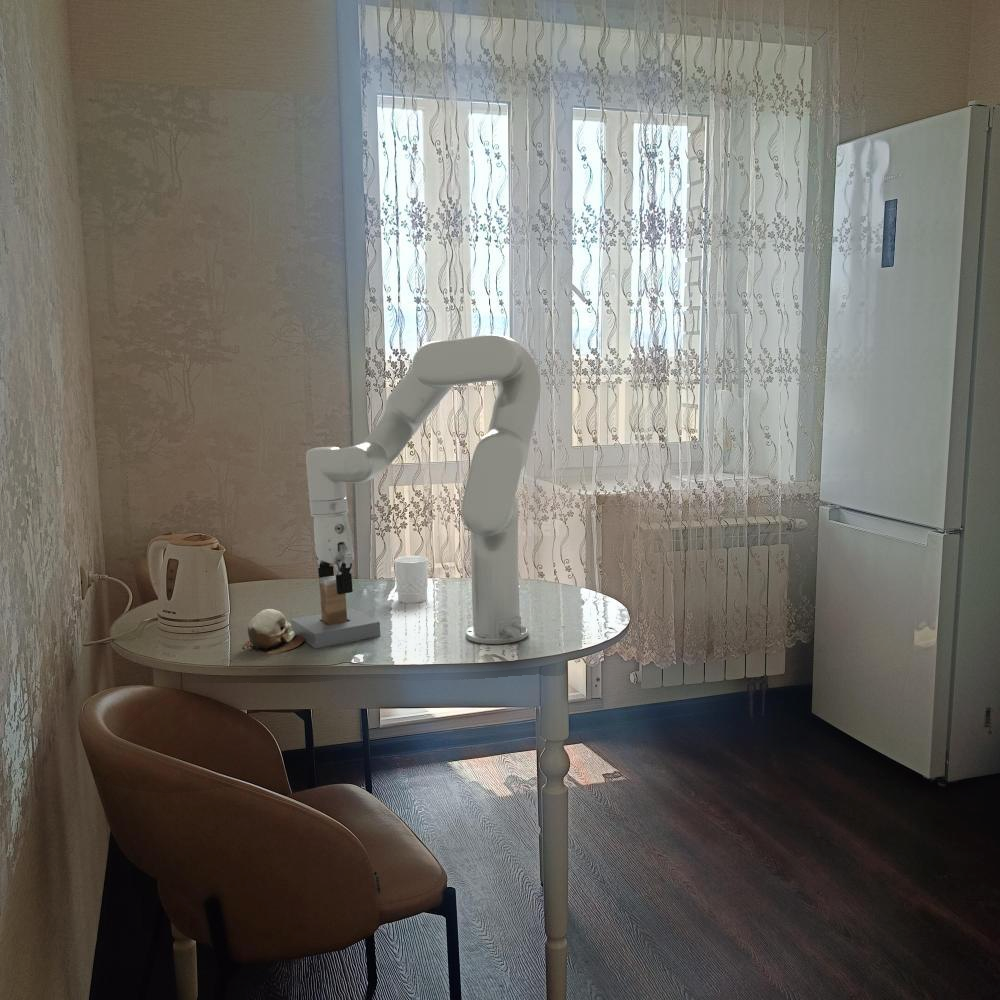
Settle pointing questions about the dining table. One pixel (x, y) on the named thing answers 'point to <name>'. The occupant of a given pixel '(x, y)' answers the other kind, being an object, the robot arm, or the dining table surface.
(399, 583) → the white cup
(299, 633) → the socket
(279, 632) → the skull
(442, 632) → the dining table surface
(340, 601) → the peg
